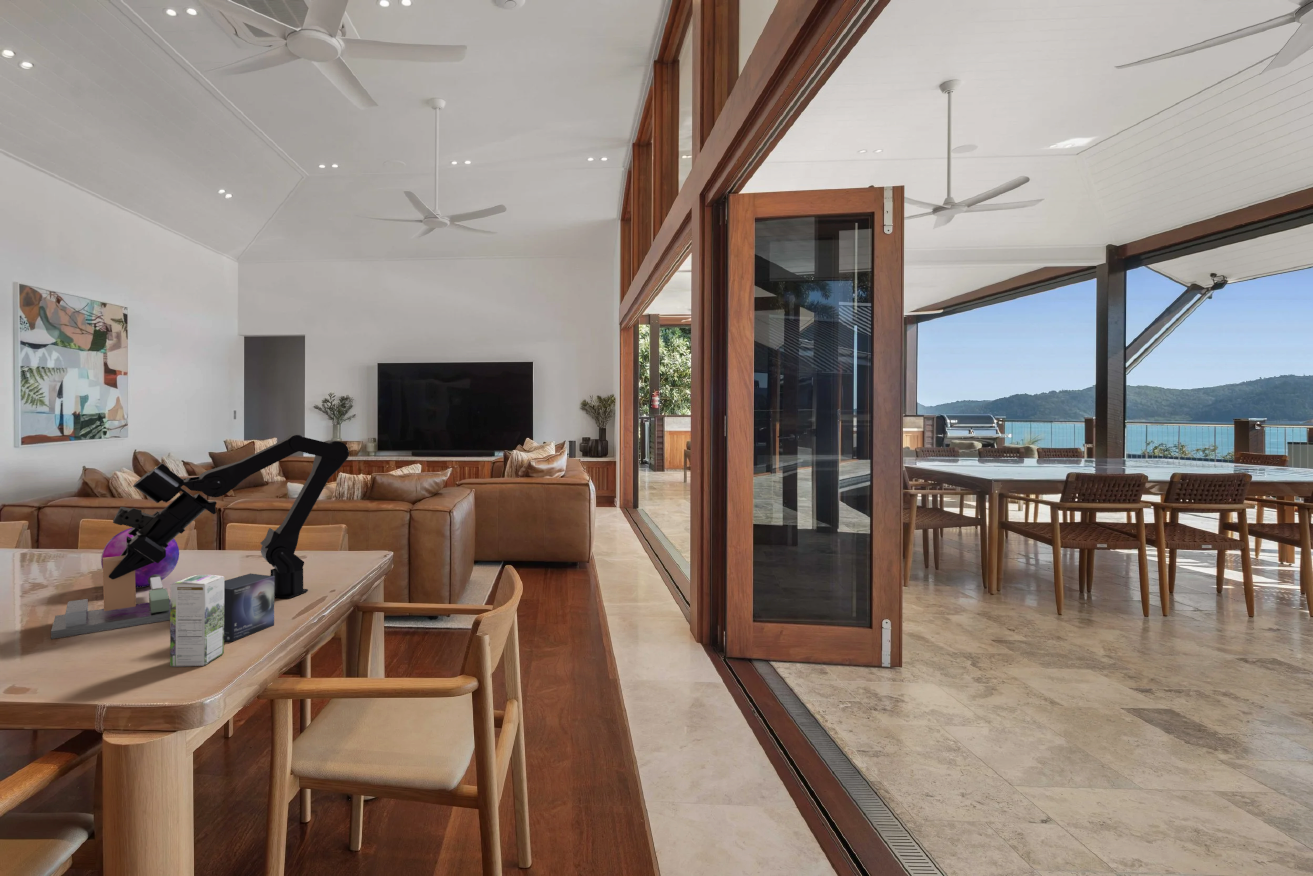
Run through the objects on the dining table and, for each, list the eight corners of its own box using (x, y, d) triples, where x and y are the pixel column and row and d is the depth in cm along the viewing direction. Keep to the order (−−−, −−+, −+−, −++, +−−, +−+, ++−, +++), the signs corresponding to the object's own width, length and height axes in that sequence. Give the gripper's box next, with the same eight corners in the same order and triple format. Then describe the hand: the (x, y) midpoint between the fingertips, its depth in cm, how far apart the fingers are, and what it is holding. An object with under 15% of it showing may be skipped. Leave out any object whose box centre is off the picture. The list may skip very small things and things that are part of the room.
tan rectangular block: (135, 600, 135) (134, 554, 134) (135, 606, 131) (134, 558, 131) (104, 605, 132) (102, 557, 131) (104, 611, 128) (102, 562, 127)
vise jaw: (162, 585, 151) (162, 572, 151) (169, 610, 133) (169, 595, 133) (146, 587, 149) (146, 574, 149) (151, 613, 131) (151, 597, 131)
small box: (232, 643, 119) (231, 588, 119) (203, 640, 121) (203, 586, 120) (276, 625, 130) (276, 574, 129) (249, 622, 131) (249, 572, 131)
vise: (188, 603, 144) (188, 584, 144) (193, 616, 135) (193, 596, 134) (55, 622, 129) (55, 602, 129) (51, 639, 120) (50, 616, 120)
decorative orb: (190, 584, 159) (189, 525, 159) (115, 598, 147) (114, 534, 146) (164, 575, 167) (164, 519, 167) (91, 588, 155) (90, 527, 154)
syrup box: (191, 654, 113) (190, 574, 113) (225, 654, 114) (224, 574, 113) (169, 667, 108) (168, 583, 107) (206, 666, 108) (204, 582, 108)
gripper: (140, 488, 140) (74, 544, 133) (143, 497, 126) (69, 560, 119) (185, 520, 146) (124, 575, 139) (193, 531, 131) (125, 594, 125)
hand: (110, 575), depth 130 cm, fingers closed on tan rectangular block, 5 cm apart
